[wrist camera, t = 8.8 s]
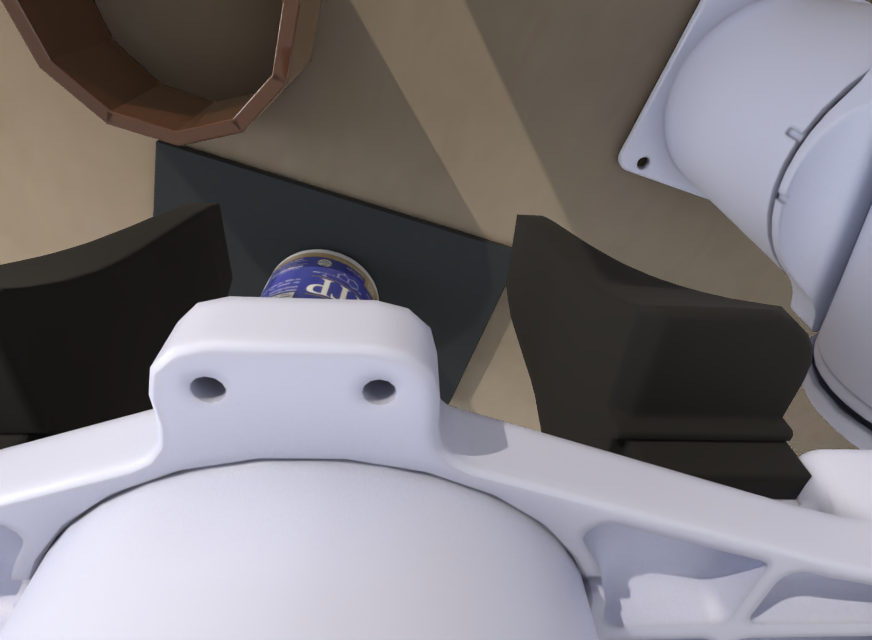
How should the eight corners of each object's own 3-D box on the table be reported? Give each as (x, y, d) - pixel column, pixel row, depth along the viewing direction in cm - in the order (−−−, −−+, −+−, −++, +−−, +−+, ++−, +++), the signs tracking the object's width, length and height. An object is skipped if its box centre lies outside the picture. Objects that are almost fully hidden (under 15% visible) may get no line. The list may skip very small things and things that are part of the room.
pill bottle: (402, 301, 26) (388, 440, 19) (326, 354, 28) (288, 499, 21) (322, 223, 24) (272, 347, 17) (245, 287, 26) (170, 424, 19)
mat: (519, 249, 25) (521, 253, 25) (448, 399, 31) (448, 404, 30) (159, 138, 22) (155, 141, 22) (151, 326, 28) (148, 330, 27)
